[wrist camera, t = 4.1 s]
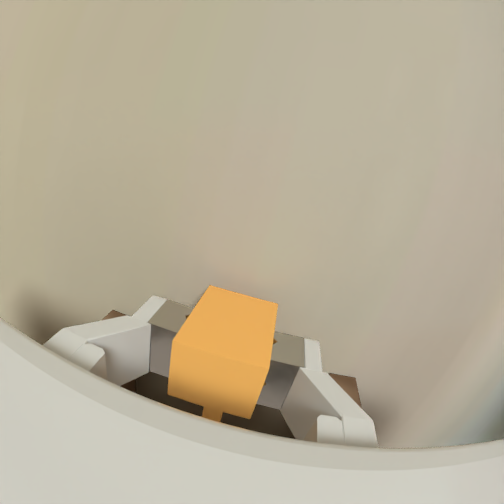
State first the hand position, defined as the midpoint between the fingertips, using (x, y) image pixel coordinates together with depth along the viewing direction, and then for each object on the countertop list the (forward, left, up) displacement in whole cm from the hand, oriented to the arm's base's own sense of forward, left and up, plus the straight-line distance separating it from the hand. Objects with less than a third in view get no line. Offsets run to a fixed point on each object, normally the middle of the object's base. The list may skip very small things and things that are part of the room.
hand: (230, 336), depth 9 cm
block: (0, +7, -2) cm, 8 cm away
